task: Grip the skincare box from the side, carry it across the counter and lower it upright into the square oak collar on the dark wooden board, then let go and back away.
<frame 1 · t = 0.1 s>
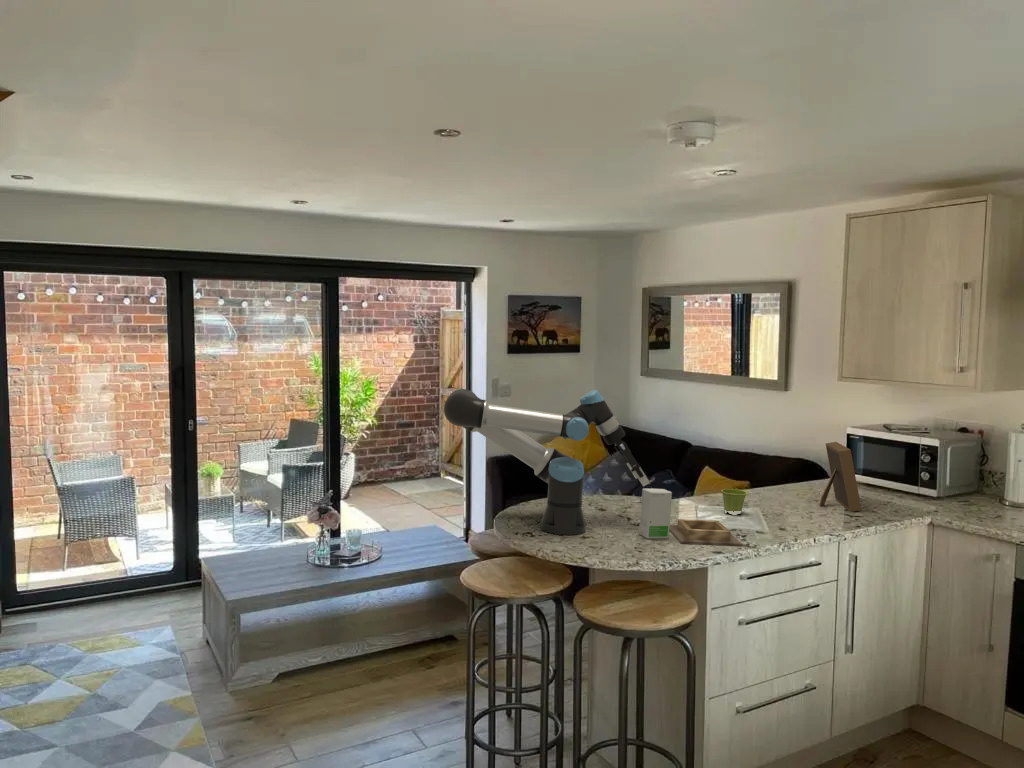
hand: (642, 480, 267), 15 cm above the worktop, tool tilted 35°, fingers open, 13 cm apart
skincare box: (653, 536, 251), on the worktop
photo frame: (834, 505, 312), on the worktop
plant pot: (732, 514, 288), on the worktop
socket board: (702, 536, 253), on the worktop
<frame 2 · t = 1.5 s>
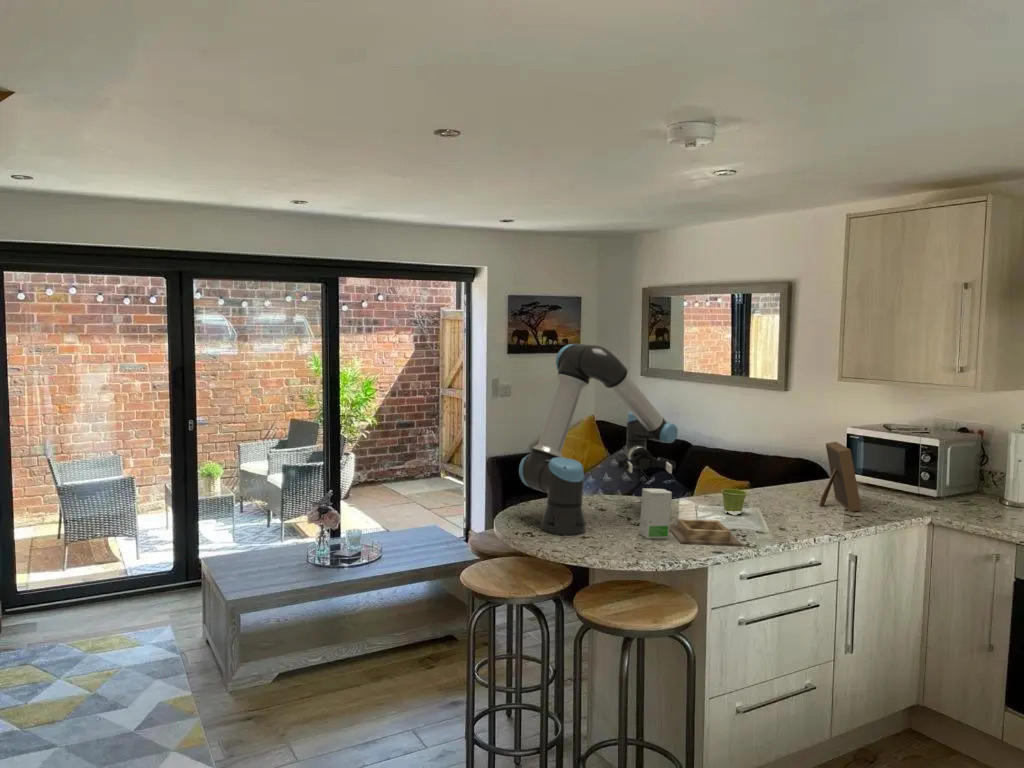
hand: (651, 469, 258), 21 cm above the worktop, tool horizontal, fingers open, 13 cm apart
nothing on the worktop moved.
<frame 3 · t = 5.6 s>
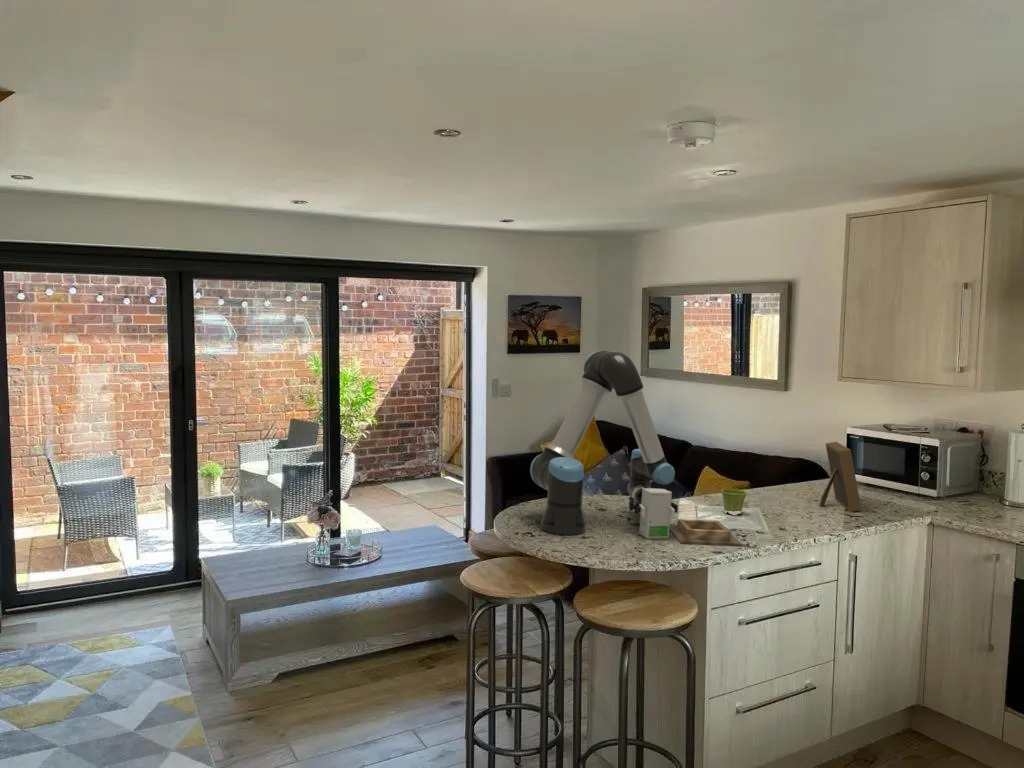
hand: (658, 513, 246), 9 cm above the worktop, tool horizontal, fingers closed on skincare box, 9 cm apart
skincare box: (653, 536, 251), on the worktop, touching gripper
everything else where it was.
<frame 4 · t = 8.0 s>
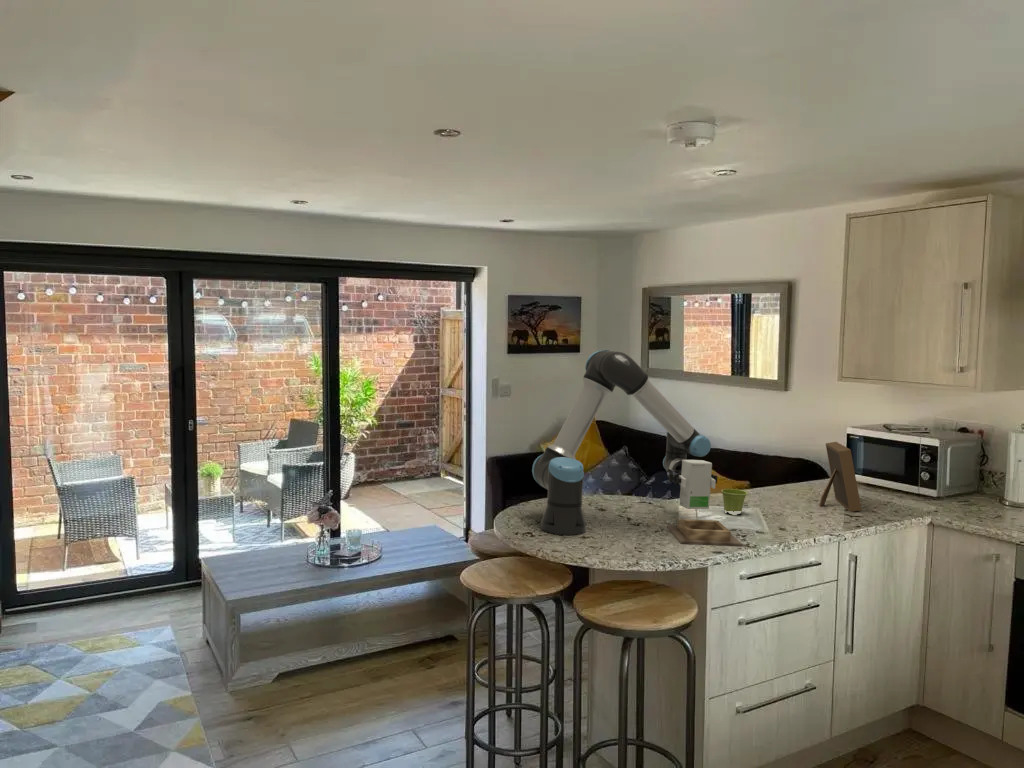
hand: (699, 483, 247), 19 cm above the worktop, tool horizontal, fingers closed on skincare box, 9 cm apart
skincare box: (694, 507, 253), point 10 cm above the worktop, touching gripper
everything else where it was.
when the fingers open (11 cm above the worktop, at t = 10.1 s): skincare box drops 1 cm, resting on socket board.
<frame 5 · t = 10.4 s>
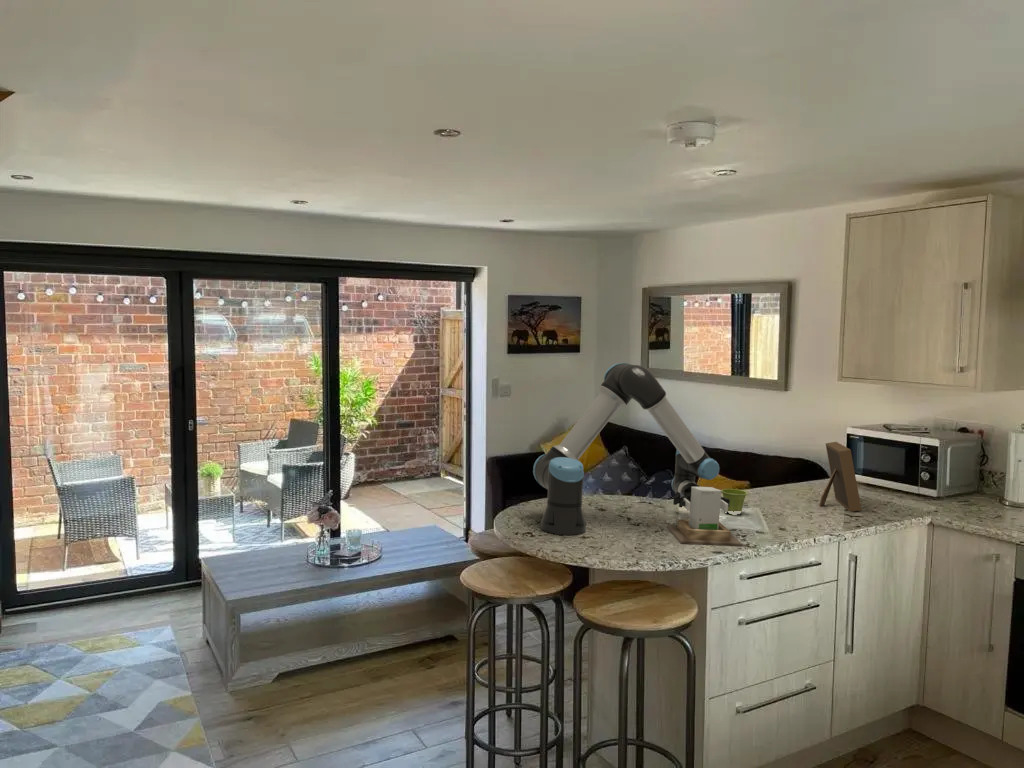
hand: (708, 507, 249), 11 cm above the worktop, tool horizontal, fingers open, 12 cm apart
skincare box: (702, 534, 253), point 1 cm above the worktop, touching socket board
everything else where it was.
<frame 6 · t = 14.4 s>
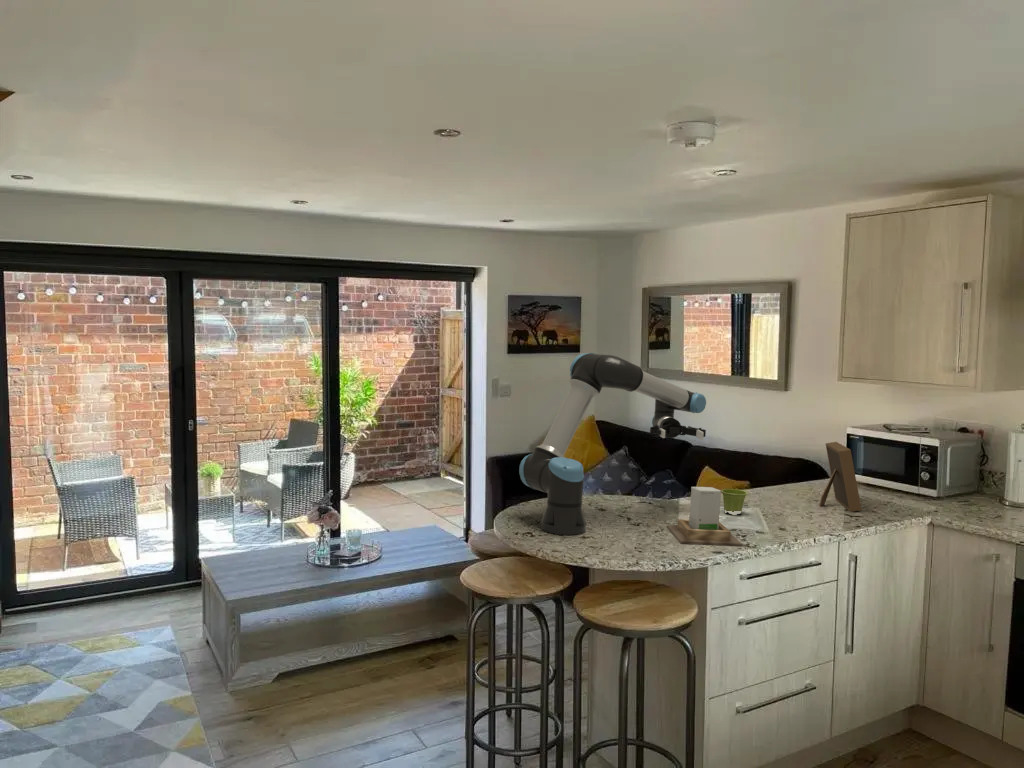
hand: (683, 435, 266), 32 cm above the worktop, tool horizontal, fingers open, 13 cm apart
nothing on the worktop moved.
at the end: skincare box inside the target area on the socket board (0.0 cm from its centre), point 0.6 cm above the socket board's base; skincare box tilted 0°; the gripper is holding nothing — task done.
